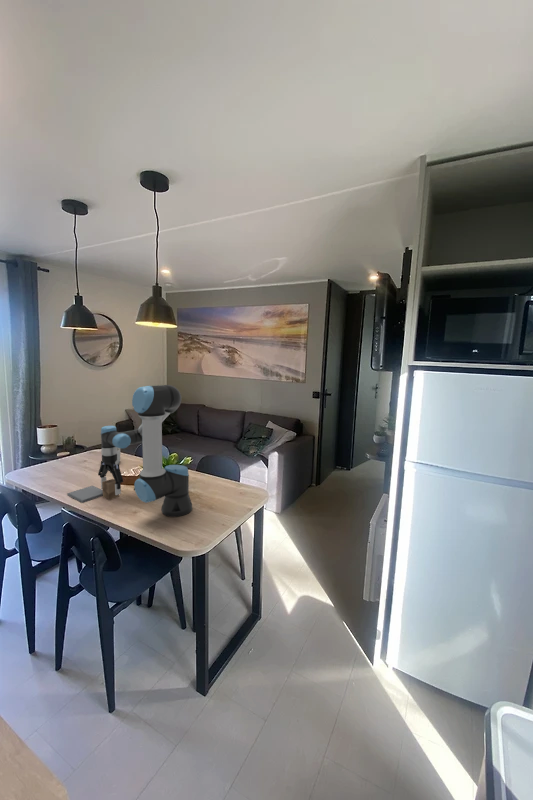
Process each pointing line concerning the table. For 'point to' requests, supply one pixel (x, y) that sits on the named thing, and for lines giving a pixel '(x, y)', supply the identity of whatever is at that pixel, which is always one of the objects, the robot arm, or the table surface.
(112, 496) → the walnut block
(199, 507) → the table surface
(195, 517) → the table surface
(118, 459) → the planter
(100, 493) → the slate board
